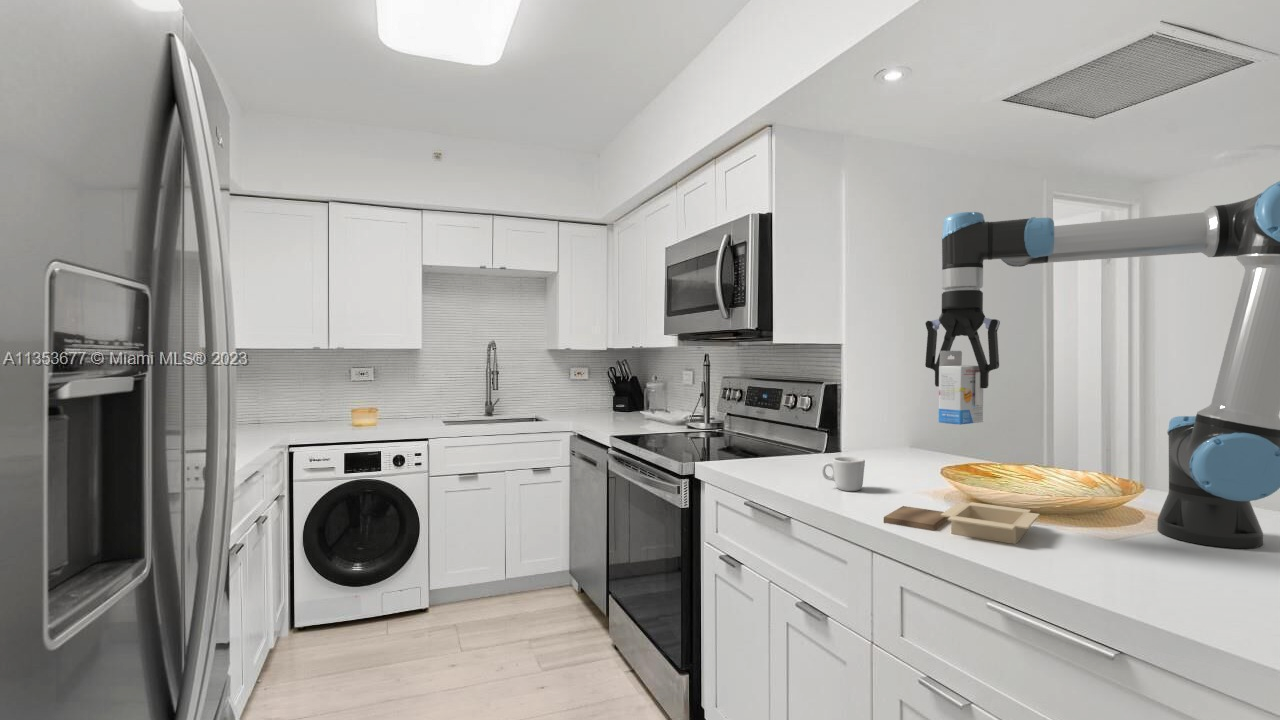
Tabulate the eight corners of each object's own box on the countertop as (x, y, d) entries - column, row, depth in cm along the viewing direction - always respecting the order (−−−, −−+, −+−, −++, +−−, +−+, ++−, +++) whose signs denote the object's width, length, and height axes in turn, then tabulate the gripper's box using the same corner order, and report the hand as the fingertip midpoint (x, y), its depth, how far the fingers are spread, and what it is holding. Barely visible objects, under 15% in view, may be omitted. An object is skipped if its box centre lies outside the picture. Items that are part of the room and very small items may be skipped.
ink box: (961, 425, 127) (962, 350, 127) (937, 422, 131) (938, 350, 131) (984, 422, 132) (984, 350, 132) (960, 420, 136) (960, 350, 136)
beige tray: (1041, 528, 130) (1041, 511, 130) (1025, 549, 117) (1025, 530, 117) (960, 516, 140) (960, 500, 140) (936, 534, 127) (936, 517, 127)
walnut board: (950, 518, 139) (950, 512, 139) (933, 530, 130) (933, 524, 130) (903, 511, 146) (903, 505, 146) (883, 522, 137) (883, 516, 137)
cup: (820, 490, 168) (820, 460, 168) (823, 484, 175) (823, 455, 175) (864, 493, 164) (864, 462, 164) (865, 487, 171) (865, 457, 171)
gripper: (1018, 288, 128) (1017, 405, 128) (919, 293, 140) (918, 399, 141) (1011, 286, 122) (1009, 407, 123) (908, 291, 134) (907, 402, 135)
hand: (960, 403), depth 132 cm, fingers closed on ink box, 6 cm apart
